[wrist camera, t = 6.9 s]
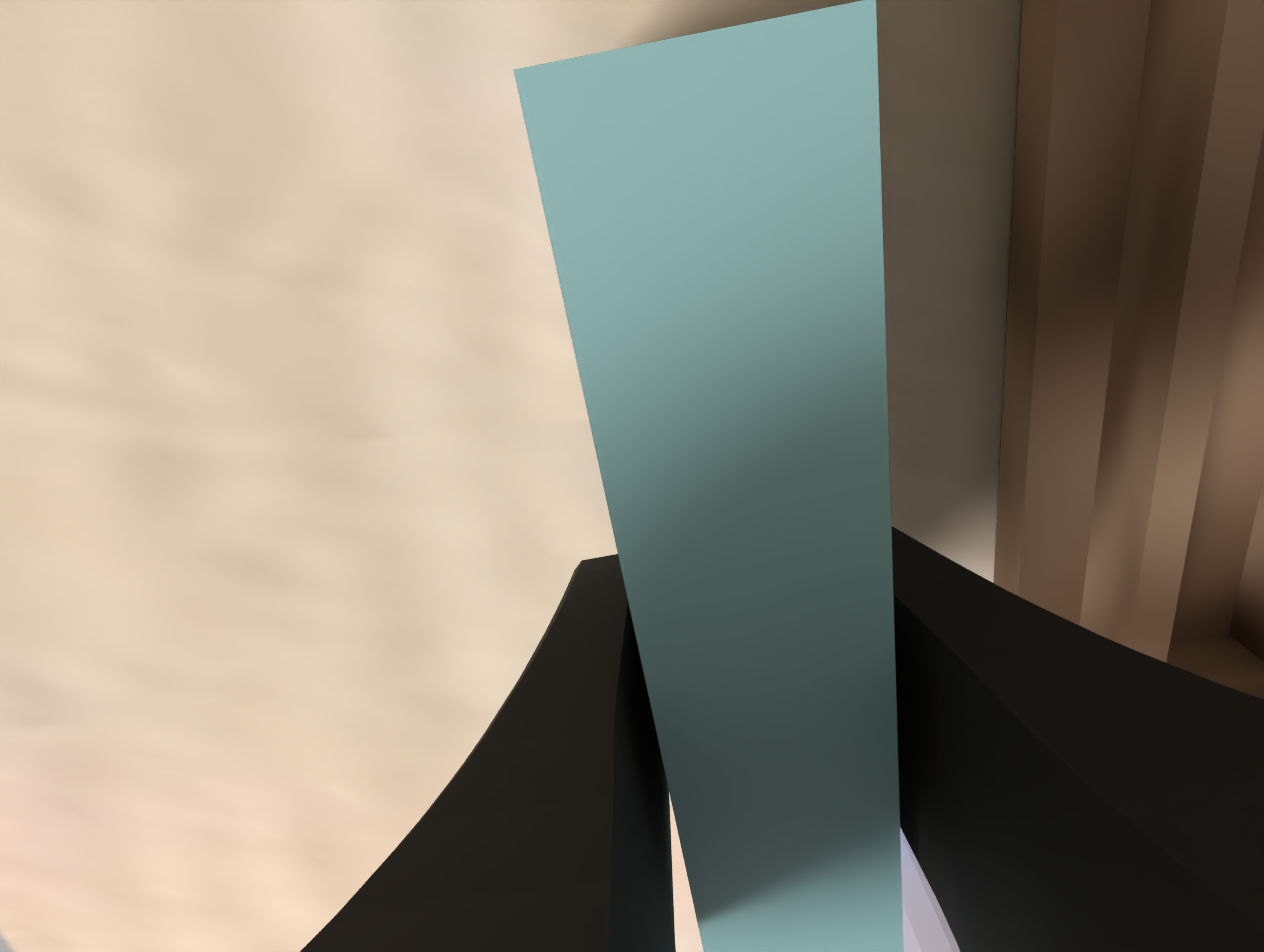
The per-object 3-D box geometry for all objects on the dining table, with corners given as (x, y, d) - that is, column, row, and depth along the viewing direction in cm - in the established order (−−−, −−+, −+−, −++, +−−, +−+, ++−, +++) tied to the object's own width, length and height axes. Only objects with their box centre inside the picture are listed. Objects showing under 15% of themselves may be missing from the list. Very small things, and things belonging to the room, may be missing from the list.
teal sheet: (757, 660, 17) (909, 1134, 9) (672, 675, 17) (748, 1158, 9) (682, 92, 12) (875, -3, 4) (563, 114, 12) (513, 70, 4)
